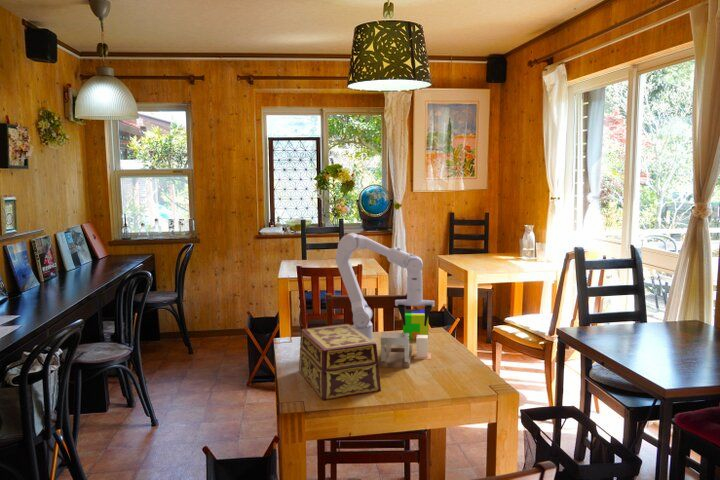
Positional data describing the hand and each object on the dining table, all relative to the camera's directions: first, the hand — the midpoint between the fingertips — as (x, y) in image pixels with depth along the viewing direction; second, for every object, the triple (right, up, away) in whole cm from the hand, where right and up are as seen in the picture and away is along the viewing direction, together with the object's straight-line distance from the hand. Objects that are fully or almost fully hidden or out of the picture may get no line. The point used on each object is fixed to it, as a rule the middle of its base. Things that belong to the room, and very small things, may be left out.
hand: (414, 324), depth 206 cm
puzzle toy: (+2, -8, +19) cm, 21 cm away
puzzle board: (-7, -11, -8) cm, 16 cm away
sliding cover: (-8, -10, -15) cm, 20 cm away
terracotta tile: (+2, -11, -7) cm, 13 cm away
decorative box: (-28, -14, -28) cm, 42 cm away
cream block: (+2, -10, -7) cm, 12 cm away
